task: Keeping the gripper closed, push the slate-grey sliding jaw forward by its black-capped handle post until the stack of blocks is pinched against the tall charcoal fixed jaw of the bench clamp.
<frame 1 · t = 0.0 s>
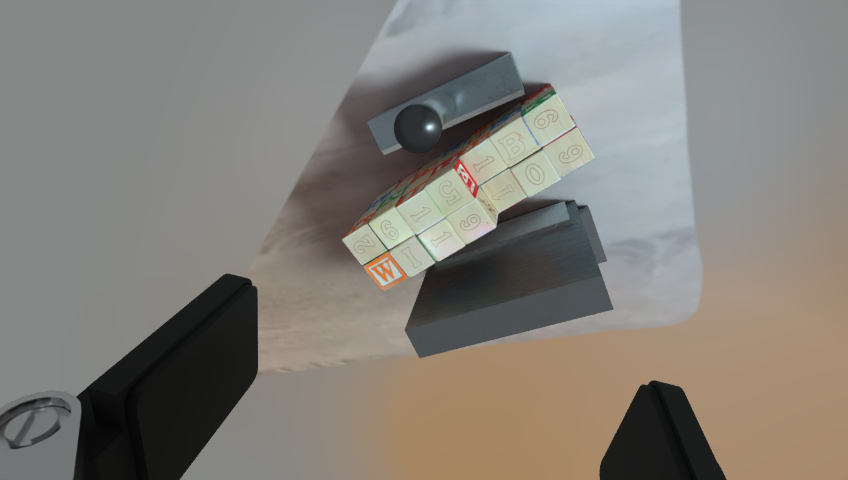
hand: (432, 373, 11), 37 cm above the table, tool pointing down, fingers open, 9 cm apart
sliding jaw: (436, 113, 37), point 8 cm above the table, slide at 0.0 cm
stack of blocks: (472, 167, 47), on the table
fixed jaw: (506, 237, 49), on the table
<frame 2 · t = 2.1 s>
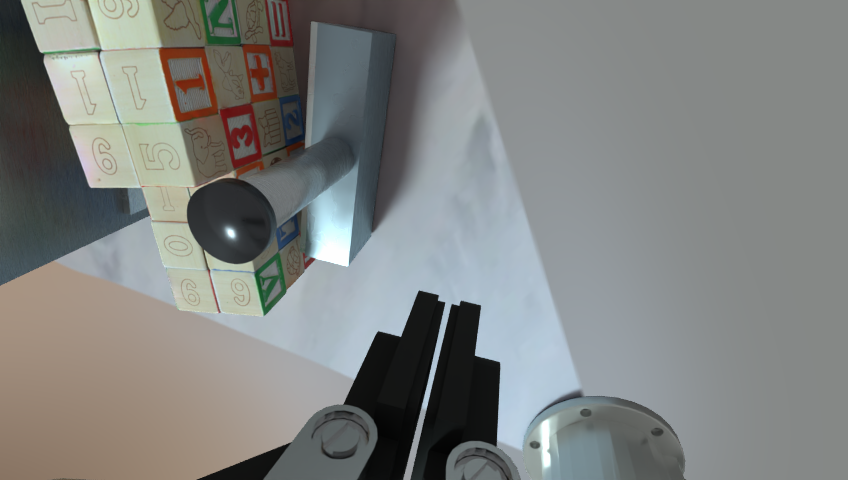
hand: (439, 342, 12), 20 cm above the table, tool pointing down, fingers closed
sliding jaw: (310, 169, 24), point 8 cm above the table, slide at 0.0 cm
stack of blocks: (266, 116, 32), on the table
fixed jaw: (153, 95, 32), on the table
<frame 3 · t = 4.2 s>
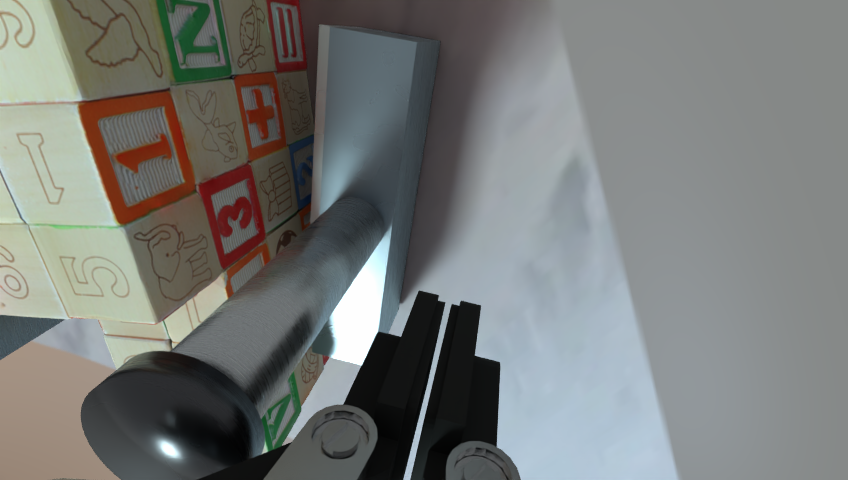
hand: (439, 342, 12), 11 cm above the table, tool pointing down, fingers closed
sliding jaw: (321, 256, 15), point 8 cm above the table, slide at 0.7 cm, touching gripper
stack of blocks: (269, 161, 23), on the table
fixed jaw: (115, 127, 24), on the table
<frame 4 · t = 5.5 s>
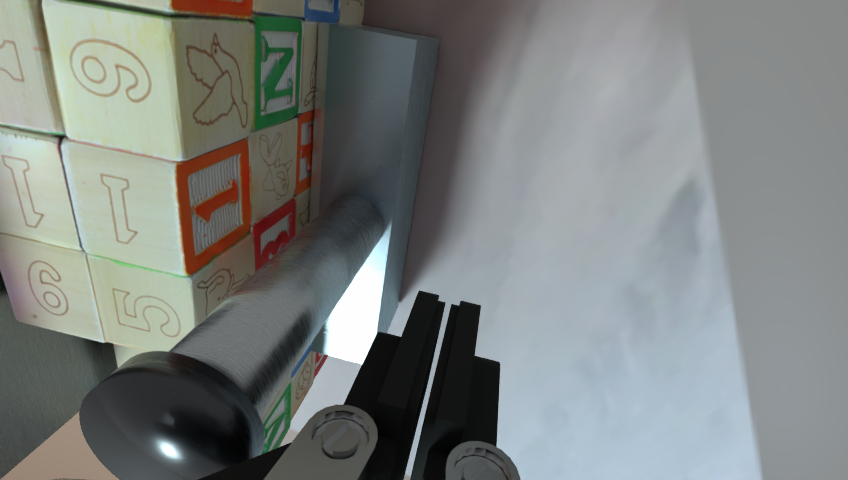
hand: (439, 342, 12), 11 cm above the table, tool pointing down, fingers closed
sliding jaw: (320, 254, 15), point 8 cm above the table, slide at 5.8 cm, touching gripper, stack of blocks
stack of blocks: (294, 173, 23), on the table, touching fixed jaw, sliding jaw
fixed jaw: (200, 143, 23), on the table
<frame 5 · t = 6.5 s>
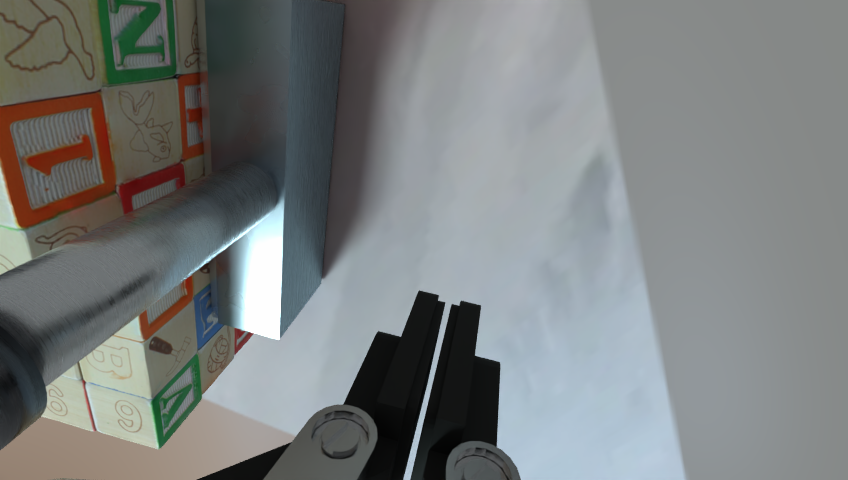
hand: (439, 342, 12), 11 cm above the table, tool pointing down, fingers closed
sliding jaw: (196, 218, 15), point 8 cm above the table, slide at 5.7 cm
stack of blocks: (212, 145, 23), on the table
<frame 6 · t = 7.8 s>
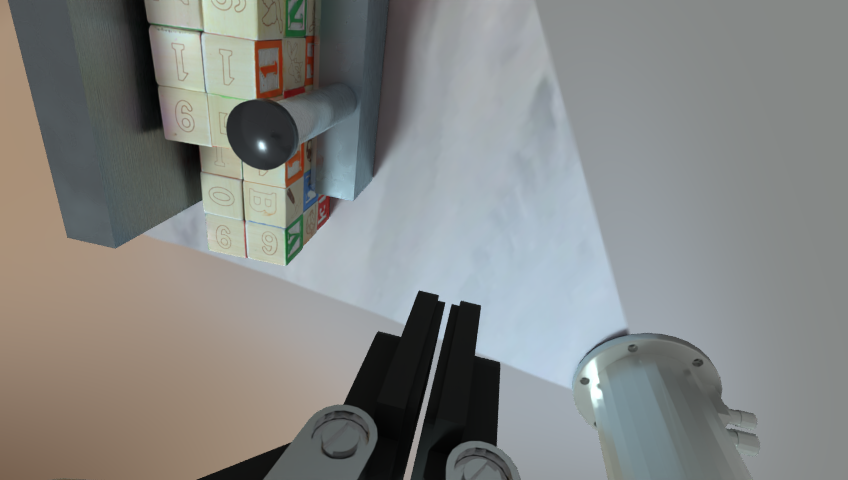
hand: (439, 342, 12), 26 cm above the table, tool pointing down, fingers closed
sliding jaw: (319, 107, 28), point 8 cm above the table, slide at 5.7 cm
stack of blocks: (301, 91, 36), on the table
fixed jaw: (238, 69, 36), on the table
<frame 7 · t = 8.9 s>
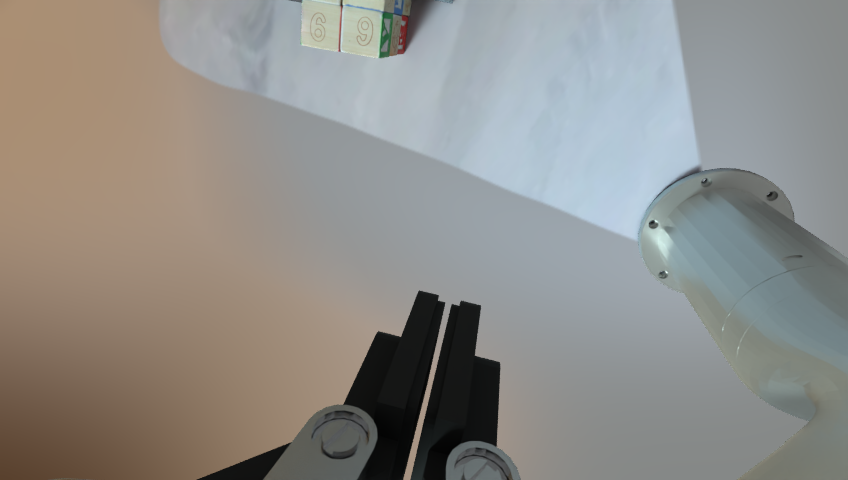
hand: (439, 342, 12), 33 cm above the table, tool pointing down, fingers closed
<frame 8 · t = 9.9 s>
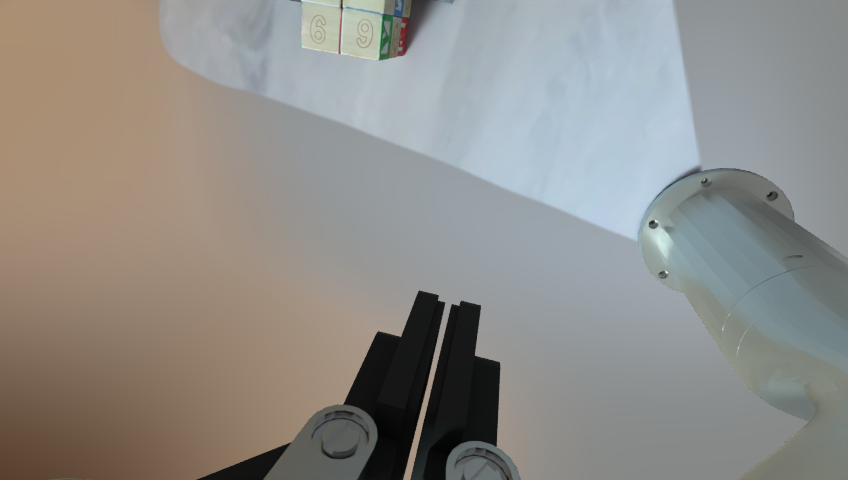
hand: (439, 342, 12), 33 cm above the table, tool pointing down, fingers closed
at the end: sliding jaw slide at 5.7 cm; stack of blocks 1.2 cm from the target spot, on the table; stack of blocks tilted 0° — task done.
